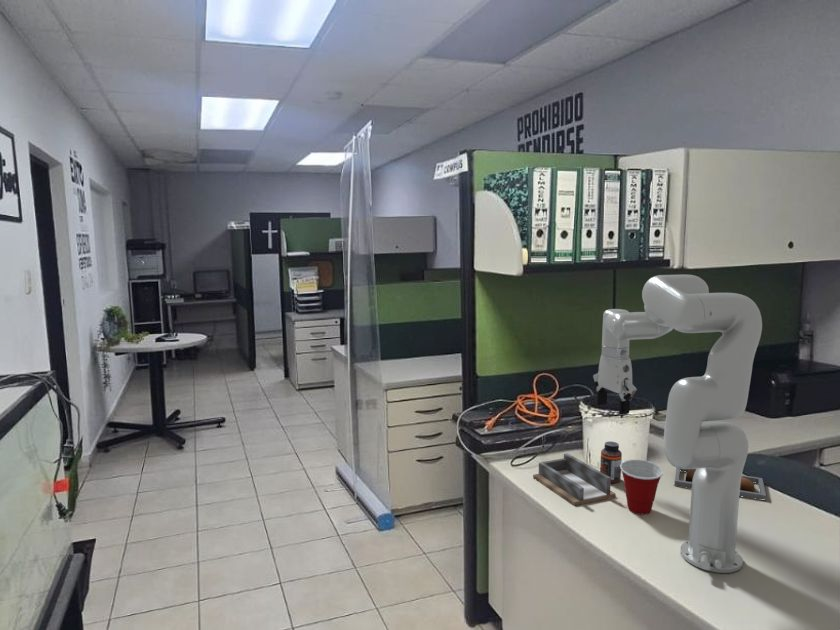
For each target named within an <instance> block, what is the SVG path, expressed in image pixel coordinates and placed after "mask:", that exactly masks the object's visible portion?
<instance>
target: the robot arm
mask: <svg viewBox="0 0 840 630" xmlns="http://www.w3.org/2000/svg"><path fill="white" fill-rule="evenodd" d="M641 292H642V293H641V297H642V301H643V304H644V305H643V308H644V311H634V312H633V311H632V312H629V310H627V309H622V308H610V309H606V310H605V311H603V315H602V334H601V335H602V336H601V355H600V357H599V358H600V359H599V364H598V369H597V370H598V372H596V373H595V374H593V375H592V378H593V380H594V386H595V388H596V389H595V391H596V392H597V395H596V396H597V397H596V405H597V406H604V405H607V403H608V391H611V392H613V393H617V394H618V395H619V397H620V400H619V405H618V406H619V407H618V413H619V415H628V414H629V413H630V410H631V409H630V408H631V407H630V405H631V401H632V398H634V397H635V394H636V391H637V390H638V389H637V387H636V386H635V385H634V384H633V368H632V367H633V366H632V361H631V358H630V357H629V356H630V340H631V341H633V340H653V339H657V338H660V337H662V336H664V335H666V334H668V333H670V332H671V331H673V330H675V331H677V332H680V333H684V334H699V333H700V334H701V333H718V332H719V333H721V334H722V335H720V337H719V338H718V339H717V340H716V341H715V343H714V344H713V346H712V347H711V349H710V350H709V353H708V357H707V365H706V369H705V372H704V375H702V376H691V377H688V376H687V377H684V378H681V379H679V380H678V381H676V382H675V383H674V384H673V385H672V387H671V389H670V391H669V393H668V397H667V404H666V405H667V406H666V415H665V422H664V430H663V431H664V432H663V452H664V455H665V457H666V459H667V461H668V463H669V464H670V465H671V466H673V467H674V468H679V469H696V471H695V473H694V476H693V480H692V489H691V494H690V495H691V496H690V509H689V510H690V511H689V526H688V540H686V541H684V542H683V543H681V545H680V554H681V557H682V558H683V559H684V560H685V561H686V562H688V563H689V564H691V565H692V566H695V567H697V568H699V569H702V570H703V571H708V572H713V573H718V574H729V573H735V572H737V571H739V570H741V569H742V567H743V564H744V563H743V557H742V555H741V554H740V553H739V552H738V551H736V548H737V533H738V520H739V518H738V517H739V504H740V497H739V496H740V484H741V476H742V475H743V471H744V467H745V463H746V461H747V457H748V455H749V440H748V437H747V435H746V433H745V431H744V430H743V429H742V428H741V427H740V426H739V425H737V424H735V423H731V422H728V421H726V420H732V419H737V418H740V417H741V416H742V415H743V414H744V413H745V411H746V408H747V403H748V399H749V393H750V387H751V386H750V385H751V381H752V380H751V378H752V372H753V364H754V359H755V357H756V356H755V355H756V353H757V348H758V346H759V343H760V340H761V335H762V333H763V332H762V331H763V321H762V315H761V311H760V309H759V307H758V306H757V304H756V302H755V301H753V299H751V298H750V297H749V296H746V295H745V294H744V295H743V294H740V293H735V292H710V291H709V286H708V284H707V282H706V281H705V280H704V279H703V278H701V277H700V276H697V275H693V274H659V275H655V276H652V277H650V278H648V280H647V281H646V283H644V286H643V288H642V290H641ZM607 390H608V391H607ZM724 420H725V421H724Z"/></svg>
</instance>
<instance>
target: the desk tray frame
mask: <svg viewBox="0 0 840 630" xmlns="http://www.w3.org/2000/svg"><path fill="white" fill-rule="evenodd" d="M675 468H676V467H675ZM680 470H681V471H686V472H688V471H690V470H696V469H679V468H676V470H675V476H674V485H676V486H675V487H679V486H682V487H681V488H685V487H687V488H686V489H691V488H692V482H688V481H685V480H680V476H679V475H681V472H680ZM686 472H685V473H686ZM741 477H744V478H746V479H748V480H750V481H752V482H756V483H755V484H757V483H758V484H759V485H758V484H757V485H758V489H760V491H759V492H755V491H754V492H748V491H742V490H740V496H743V497H742V498H745V497H749V498H748V499H751V498H756V499H755V500H757V499H765V500H766V499H767V495H766V490H765V486H764V480H763V477H757V476H749V475H744V474H742V476H741ZM674 485H673V486H674Z"/></svg>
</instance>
